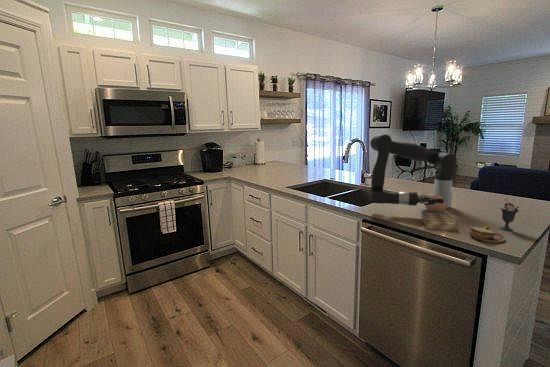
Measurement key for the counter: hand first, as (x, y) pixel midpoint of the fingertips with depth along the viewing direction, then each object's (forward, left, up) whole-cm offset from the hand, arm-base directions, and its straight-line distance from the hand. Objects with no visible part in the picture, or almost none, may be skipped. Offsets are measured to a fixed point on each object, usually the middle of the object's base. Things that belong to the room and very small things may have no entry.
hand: (442, 200), depth 145 cm
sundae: (-15, +23, -10) cm, 29 cm away
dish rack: (+9, +7, -10) cm, 15 cm away
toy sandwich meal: (+3, +27, -11) cm, 29 cm away
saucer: (+3, -2, -2) cm, 4 cm away
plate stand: (+3, -2, -10) cm, 11 cm away
